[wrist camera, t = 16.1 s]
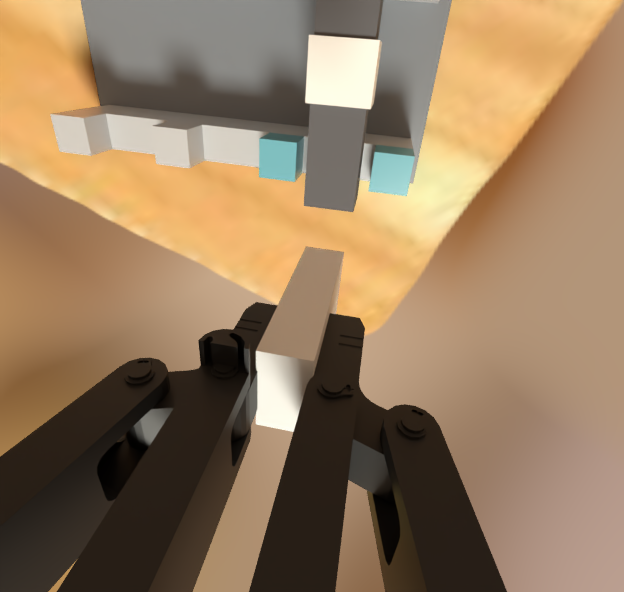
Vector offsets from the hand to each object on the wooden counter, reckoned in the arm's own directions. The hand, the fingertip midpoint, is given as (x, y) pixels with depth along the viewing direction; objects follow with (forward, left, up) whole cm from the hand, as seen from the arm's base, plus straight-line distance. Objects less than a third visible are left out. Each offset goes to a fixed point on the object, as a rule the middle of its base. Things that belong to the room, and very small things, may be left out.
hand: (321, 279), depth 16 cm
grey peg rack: (-7, -11, -27) cm, 29 cm away
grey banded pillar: (-7, -2, -21) cm, 22 cm away
